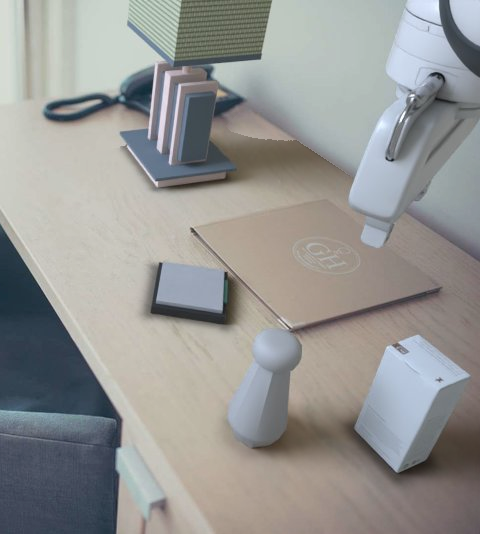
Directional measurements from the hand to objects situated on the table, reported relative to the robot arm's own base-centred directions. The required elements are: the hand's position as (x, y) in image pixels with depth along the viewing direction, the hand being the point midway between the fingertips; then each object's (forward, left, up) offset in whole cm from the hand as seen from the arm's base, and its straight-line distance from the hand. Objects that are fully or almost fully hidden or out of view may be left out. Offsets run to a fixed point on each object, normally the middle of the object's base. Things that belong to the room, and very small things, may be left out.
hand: (393, 217), depth 55 cm
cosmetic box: (-6, +5, -23) cm, 25 cm away
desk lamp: (+20, -48, -23) cm, 57 cm away
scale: (+15, -14, -23) cm, 31 cm away
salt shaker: (+8, +6, -23) cm, 25 cm away
